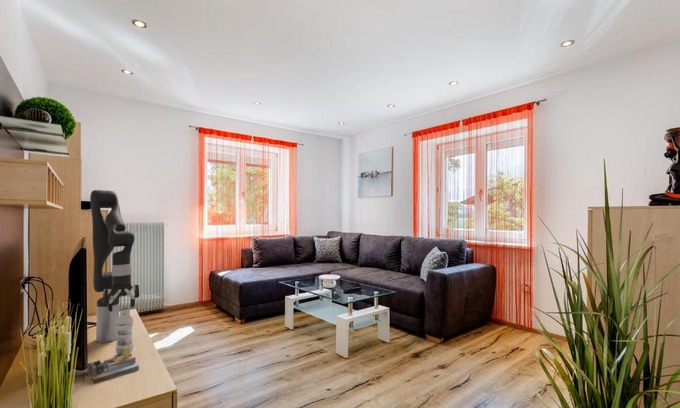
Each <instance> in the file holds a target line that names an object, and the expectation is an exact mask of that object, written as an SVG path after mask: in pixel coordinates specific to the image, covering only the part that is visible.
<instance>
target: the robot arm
mask: <svg viewBox="0 0 680 408" xmlns="http://www.w3.org/2000/svg"><path fill="white" fill-rule="evenodd" d="M89 197H90V198H89V200H90V210H91V211H90V212H91V217H92V218H91V219H92V249H93V277H92V278H93V281H92V283H93V290H94V291H95V292H96V293H102V297H100V298H98V299H97V301H96V323H95V324H96V329H95V330H96V332H95V341H96V343H100V344H104V343H108V342H112V341H113V342H114V341H115V340H116V341H117V339H118V333H117V325H116V322H117V319H118V318H119V317H120V298H121V297H129V298H130V300H129V301H130V304H129V307H130V309H133V308H134V307H135V306H136V299H137V298H139V297H140V286H139V284H133V285H132V267H131V253H132V250H133V249H132V248H133V245H134V243H135V240H136V238H135V234H134V233H133V231H131V230H130V231H129V230H126V225H125V222H124V220H123V218H122V214H121V207H120V203H119V197H118V194H117V193H116V192H115V191H114V190H105V189H103V190H102V189H101V190H100V189H99V190H98V189H94V190H92V191H91V193H90V196H89ZM101 209H110V211H109V212H108V214H107V215H106V217H105V218H104V216H103V214H102V211H101ZM117 247H123V249H122V250H120V251H116V252H113V251H114V249H115V248H117ZM112 252H113V253H112ZM111 253H112V257H111V258H112V263H111V265H112V266H111V267H112V268H111V271H108V272H103V271H104V269H103V268H104V265H105V262H106V261H107V259H108V257H109V256H110V255H111ZM132 290H133V291H134V294H133V293H132V292H131V291H132Z"/></svg>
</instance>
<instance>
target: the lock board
mask: <svg viewBox="0 0 680 408" xmlns="http://www.w3.org/2000/svg"><path fill="white" fill-rule="evenodd" d="M130 356H131V358H128V359H124V360H121V361H118V362H114V363H112V360H113V359H117V358H121V357H123V355H122V356H120V355H118V356H115V357H113V358H110V359H105V360H103V362H102V361H101V360H100V359H98V360H96V361H93V362H92V361H91V362H89V363H88V366H87V367H88V368H87V369H86V372H87V374H88V375H87V374H86V375H87V377H88V378H89V377H90V378H89V379H90V380H91V382H92V383H93V384H97V383H100V382H104V381H107V380H109V379H112V378H116V377H118V376H122V375H125V374H128V373H133V372H135V371H138V370H139V369H140V365H139V364H138V363H137V362H136V356H133V355H132V352H131V353H130ZM86 372H85V373H86Z"/></svg>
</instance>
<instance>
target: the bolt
mask: <svg viewBox="0 0 680 408" xmlns="http://www.w3.org/2000/svg"><path fill="white" fill-rule="evenodd" d="M122 356H123V357H121V358H117V359H113V360H112V363H114V362H118V361H121V360H124V359H128V358H131V356H130V347H129V346H127V347H123V355H122Z"/></svg>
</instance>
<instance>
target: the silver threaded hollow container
mask: <svg viewBox="0 0 680 408" xmlns="http://www.w3.org/2000/svg"><path fill="white" fill-rule="evenodd" d="M133 324H134V318H133V316H132V315H131V307H130V308H129V307H124V308H120V309H119V318H118V319H117V322H116V325H117V333H118V339H116V341H117V342H116V347H115V353H116V355H118V356H123V347H127V346H129V347H130V353H131V354H132V352H133V350H134V344H133V336H132V335H133V326H134V325H133Z"/></svg>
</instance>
